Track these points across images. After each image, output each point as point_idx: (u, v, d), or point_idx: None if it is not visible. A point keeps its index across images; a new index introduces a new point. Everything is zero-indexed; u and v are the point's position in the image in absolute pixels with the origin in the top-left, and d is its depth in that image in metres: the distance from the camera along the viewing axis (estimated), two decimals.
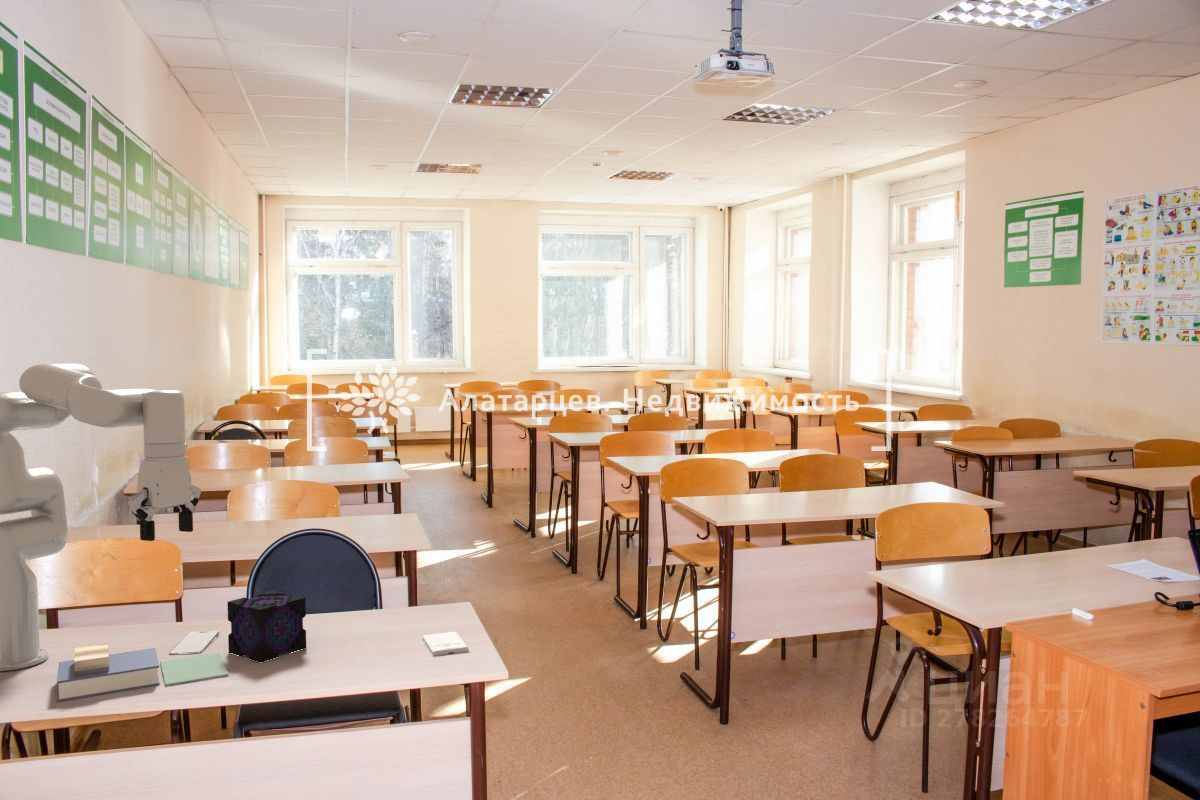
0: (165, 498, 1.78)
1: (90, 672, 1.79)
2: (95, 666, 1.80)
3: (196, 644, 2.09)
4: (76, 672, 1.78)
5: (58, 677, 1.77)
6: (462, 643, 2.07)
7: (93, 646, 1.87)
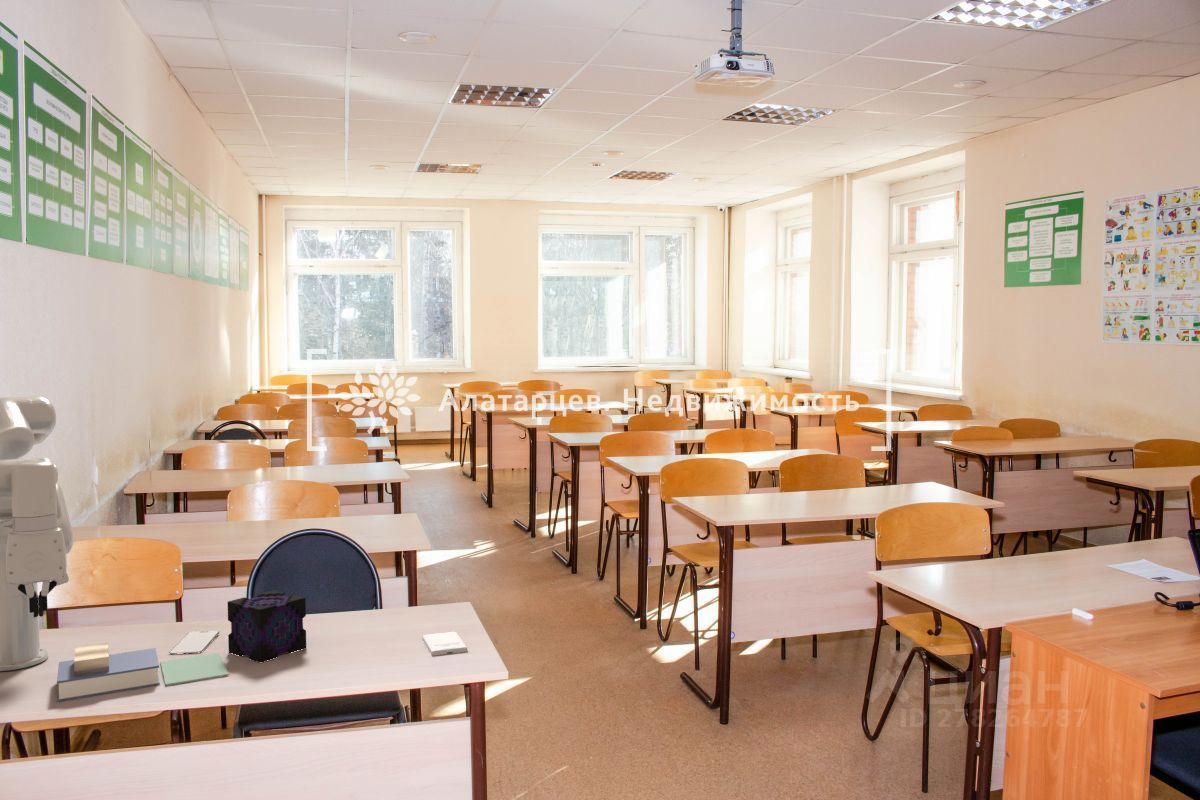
0: None
1: (90, 672, 1.79)
2: (95, 666, 1.80)
3: (196, 644, 2.09)
4: (76, 672, 1.78)
5: (58, 677, 1.77)
6: (461, 643, 2.07)
7: (93, 646, 1.87)
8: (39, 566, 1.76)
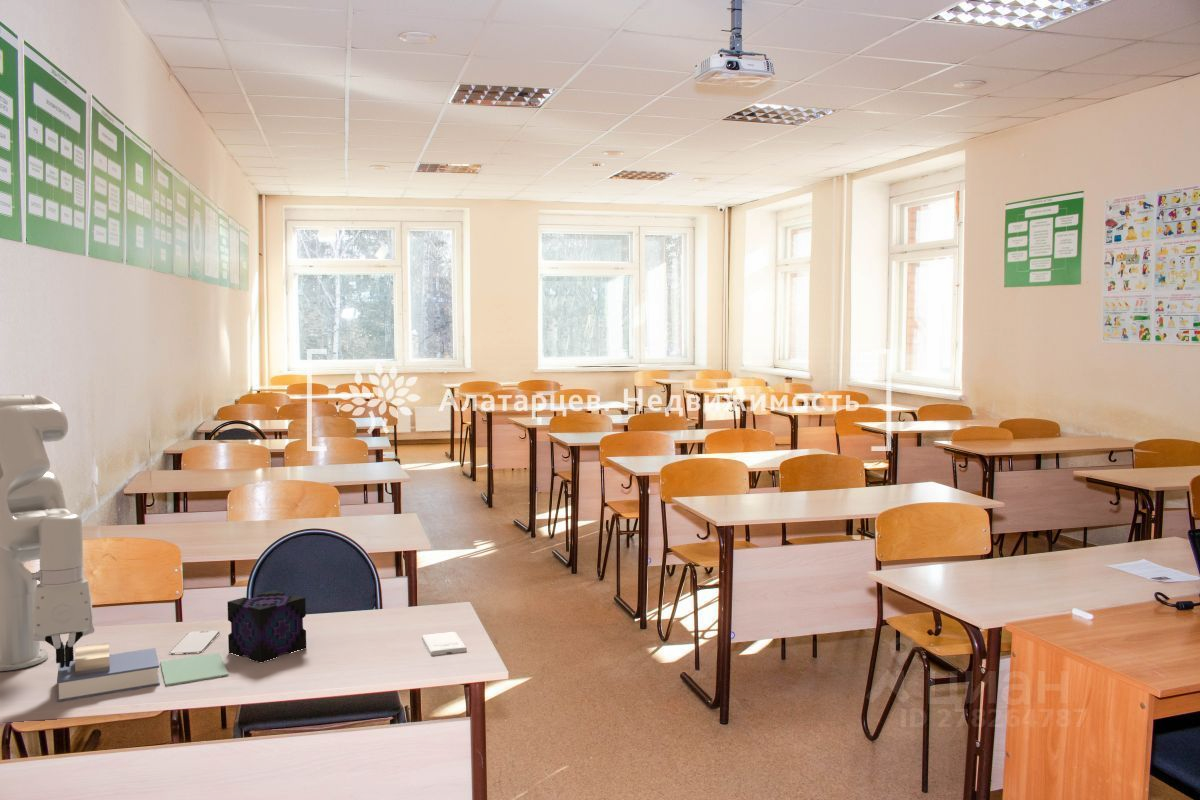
0: None
1: (91, 672, 1.79)
2: (96, 666, 1.80)
3: (196, 644, 2.09)
4: (77, 672, 1.78)
5: (58, 677, 1.77)
6: (460, 643, 2.07)
7: (94, 646, 1.87)
8: (66, 618, 1.79)
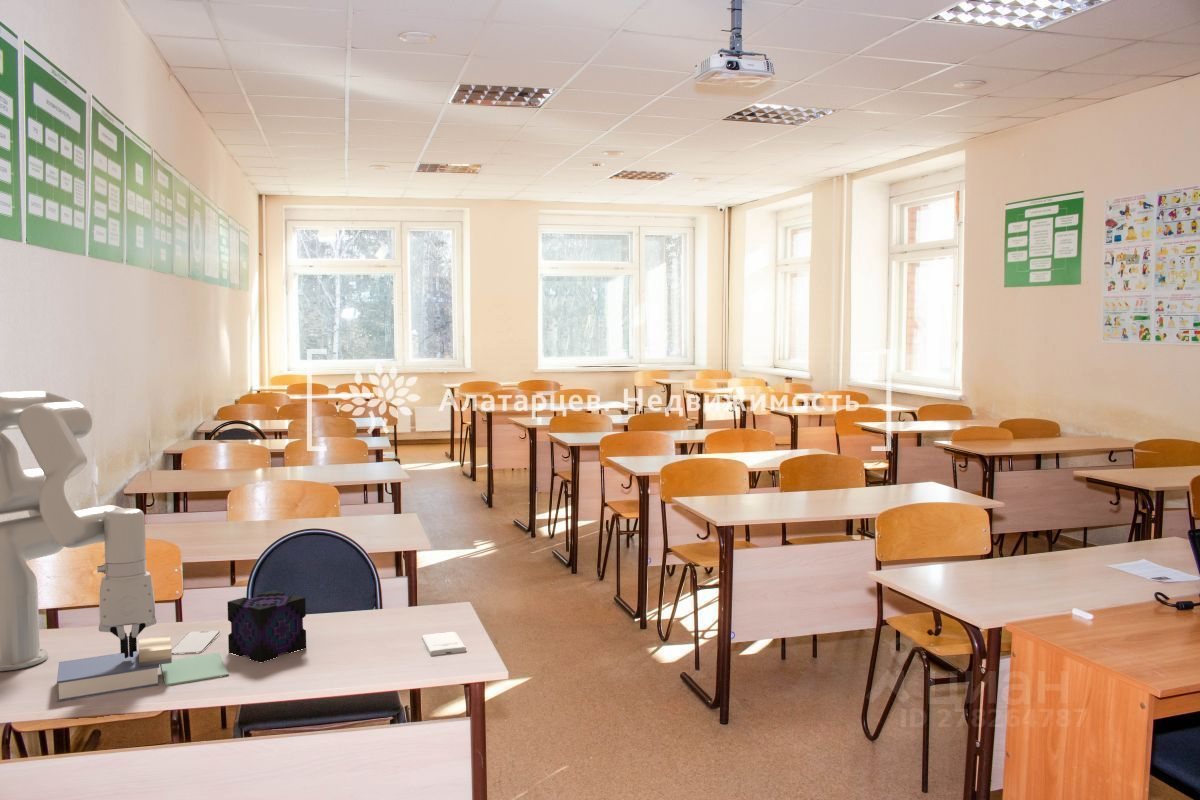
0: None
1: (154, 663, 1.84)
2: (158, 658, 1.85)
3: (196, 644, 2.09)
4: (140, 663, 1.83)
5: (58, 677, 1.77)
6: (460, 643, 2.07)
7: (156, 638, 1.92)
8: (130, 609, 1.84)
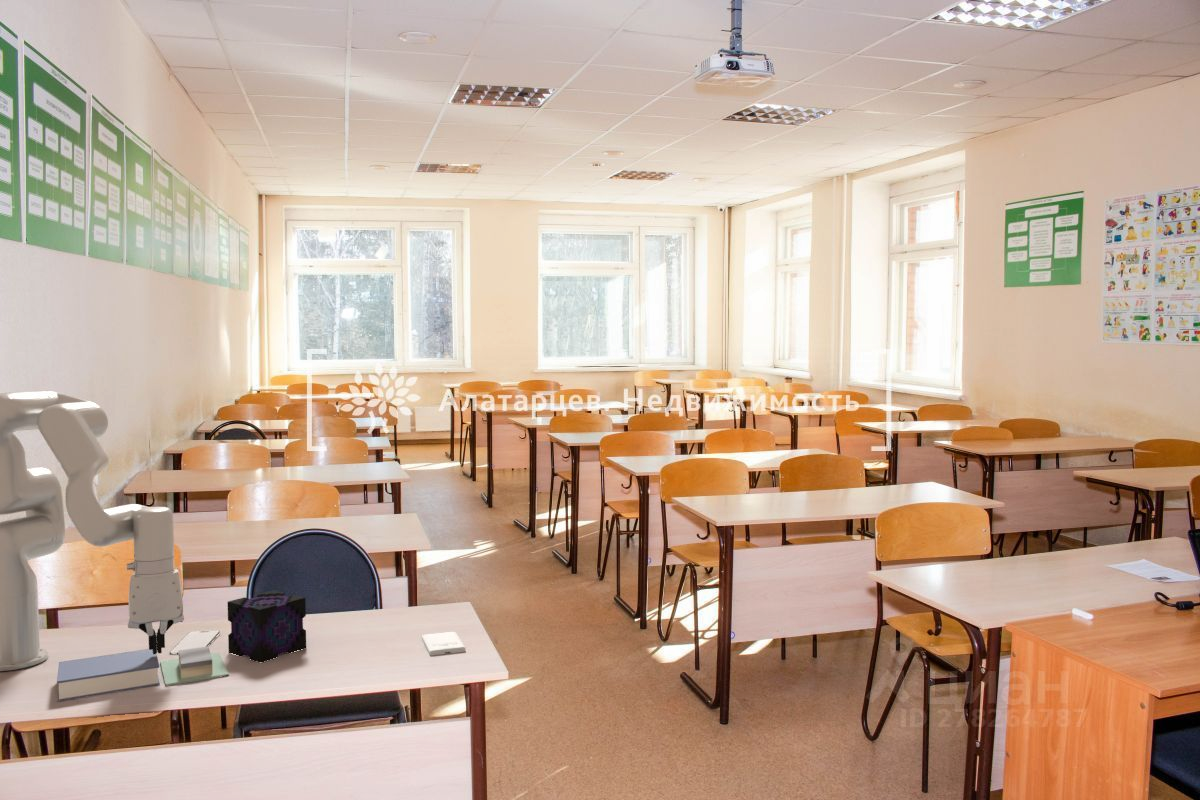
0: None
1: (198, 663, 1.88)
2: (193, 668, 1.88)
3: (196, 644, 2.09)
4: (210, 663, 1.89)
5: (58, 677, 1.77)
6: (460, 643, 2.07)
7: None
8: (159, 606, 1.87)
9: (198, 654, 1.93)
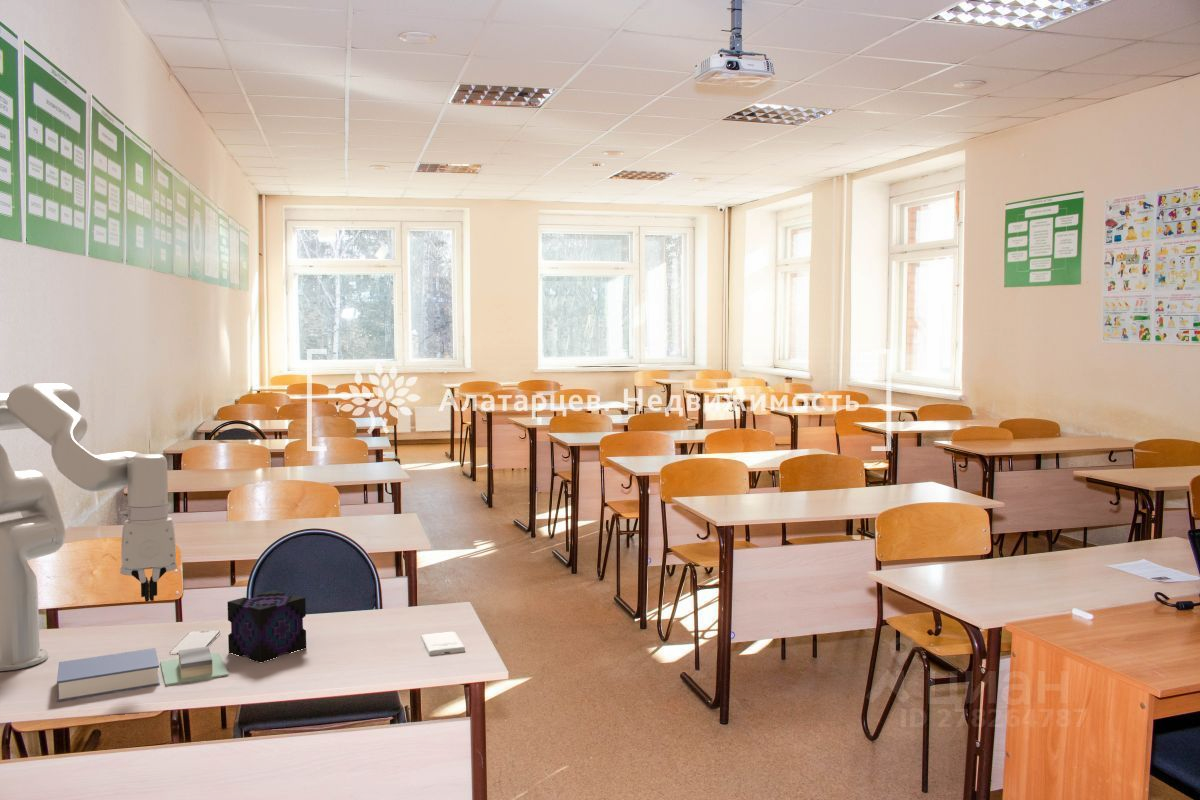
0: None
1: (198, 663, 1.88)
2: (193, 668, 1.88)
3: (196, 644, 2.09)
4: (210, 663, 1.89)
5: (58, 677, 1.77)
6: (459, 643, 2.07)
7: None
8: (152, 553, 1.86)
9: (198, 654, 1.93)
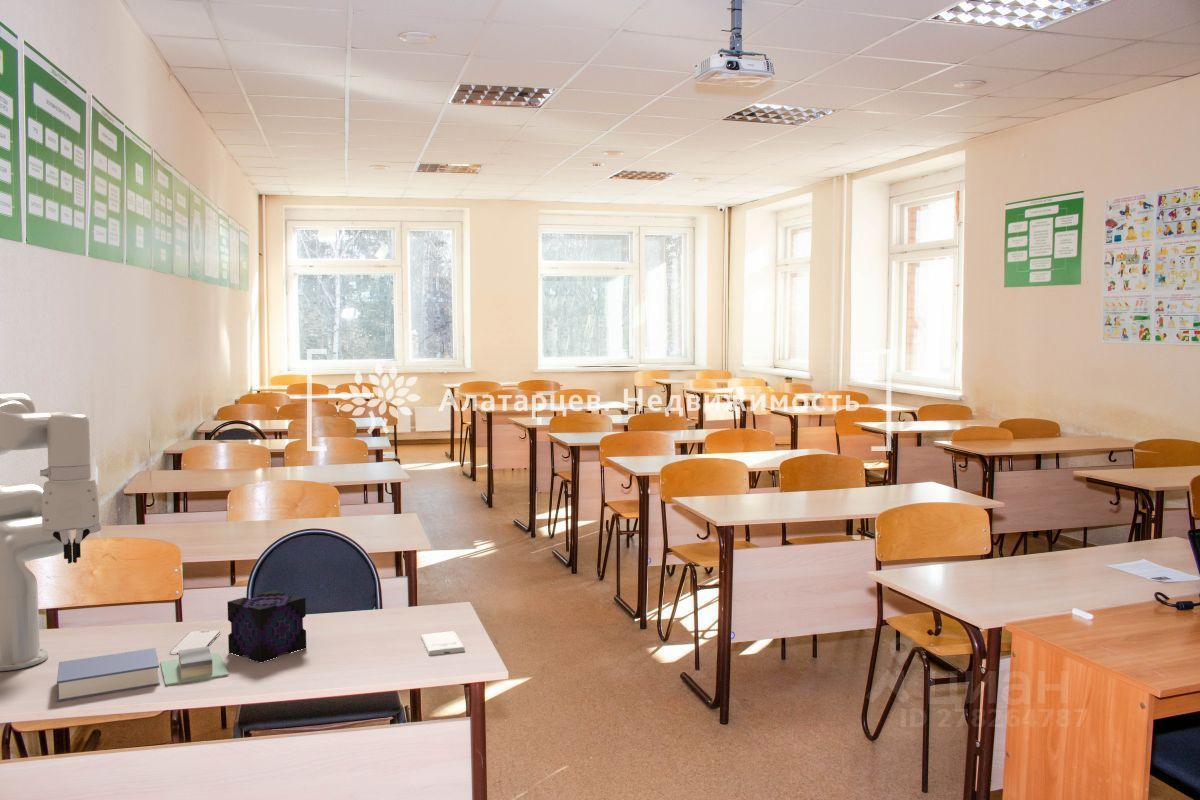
0: None
1: (198, 663, 1.88)
2: (193, 668, 1.88)
3: (197, 644, 2.09)
4: (210, 663, 1.89)
5: (58, 677, 1.77)
6: (459, 643, 2.07)
7: None
8: (73, 514, 1.83)
9: (198, 654, 1.93)
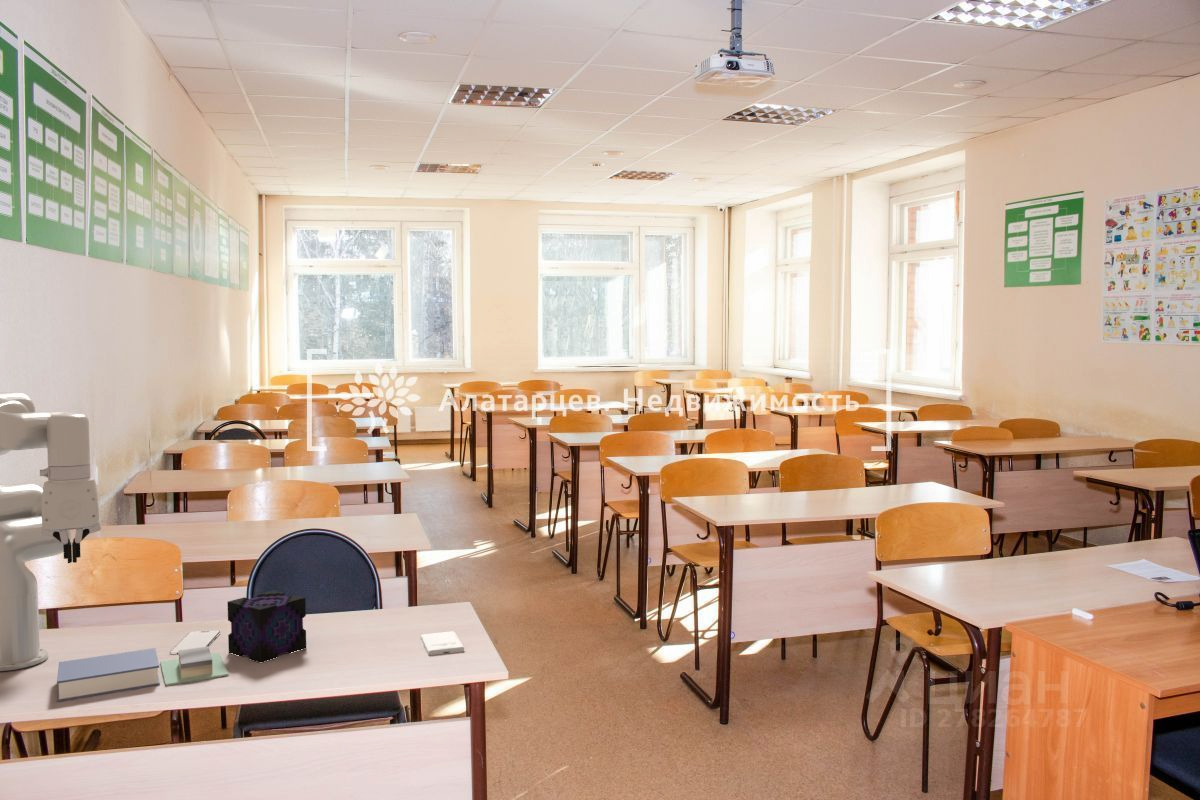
0: None
1: (198, 663, 1.88)
2: (193, 668, 1.88)
3: (197, 644, 2.09)
4: (210, 663, 1.89)
5: (58, 677, 1.77)
6: (458, 643, 2.07)
7: None
8: (73, 514, 1.83)
9: (198, 654, 1.93)
